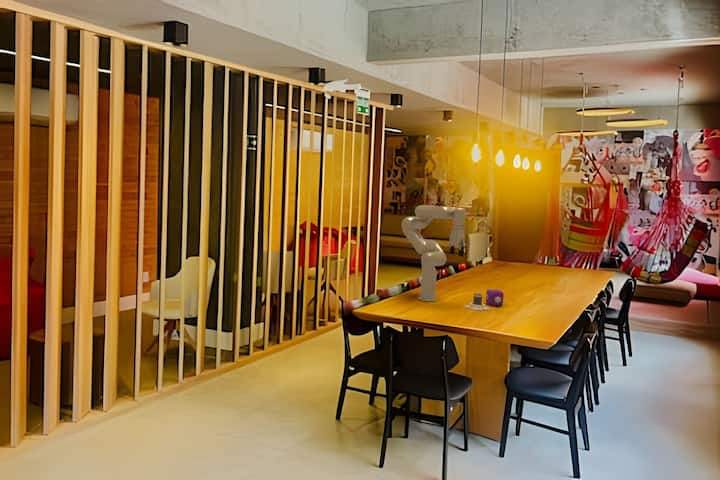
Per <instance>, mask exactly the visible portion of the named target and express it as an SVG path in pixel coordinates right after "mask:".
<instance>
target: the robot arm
mask: <svg viewBox="0 0 720 480" xmlns="http://www.w3.org/2000/svg"><path fill="white" fill-rule="evenodd" d="M414 214H415V216H407V217H404V218H403V220H402V221H401V230H402V232H403V234H404V236H405V237H406V238H407V239H408V241H409V242H410V243H411V245H412V247H414V249H415V250H416V252H417V253H418V254H420V255H421V259H420V260H421V284H420V291H419V293H418V295H419V296H418V297H417V300H419V301H422V302H437V301H438V298H437V297H436V289H437V288H436V287H437V274H438V273H437V269H436V267H440V266H444V265H445V264H446V263H447V256H446V253H445V252H444V251H443V249H442V247H440V245H439V243H438V242H437V241H435V240H433V239H425V238H424V237H423V235H422V234H421V232H419V231H417V230H424V229H425V228H426V227H427V226H428V225H429V224H430V222H431V221H432V220H434V219H441V220H442V219H443V220H444V219H446V220H447V219H450V220H451V219H452V226H451V230H450V235H449V239H448V245H449V255H455V252H456V250H455V247H458V249H459V250H458V257H464V251H465V248H466V246H467V243H466V240H465V237H466V236H465V235H466V234H465V227H466V225H465V224H466V214H467V211H466V208H464V207H457V206H443V205H442V206H441V205H440V206H437V205H436V204H435V205H432V204H431V205H430V204H429V205H428V204H425V205H424V204H422V205H421V204H420V205H418V206H416V207H415V209H414Z"/></svg>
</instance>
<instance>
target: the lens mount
mask: <svg viewBox="0 0 720 480" xmlns="http://www.w3.org/2000/svg"><path fill="white" fill-rule="evenodd" d="M463 308H464V309H465V308H466V309H468V310H471V311H474V312H483V311H491V310H492V308H490V307H487V306H486V304H485V303H483V302H482V304H481V305H475V304H473V302H469V305H467V304H465V305H463Z"/></svg>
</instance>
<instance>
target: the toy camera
mask: <svg viewBox="0 0 720 480" xmlns="http://www.w3.org/2000/svg"><path fill="white" fill-rule="evenodd" d="M485 303H486V304H487V306H490V307H491V306H493V307H502V306H503V305H504V292H503V291H502V290H500V289H499V288H496V289H486V291H485Z"/></svg>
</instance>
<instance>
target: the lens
mask: <svg viewBox="0 0 720 480" xmlns="http://www.w3.org/2000/svg"><path fill="white" fill-rule="evenodd" d="M482 301H483V294H481V293H473V304H475V305H481V304H482V303H483V302H482Z"/></svg>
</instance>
